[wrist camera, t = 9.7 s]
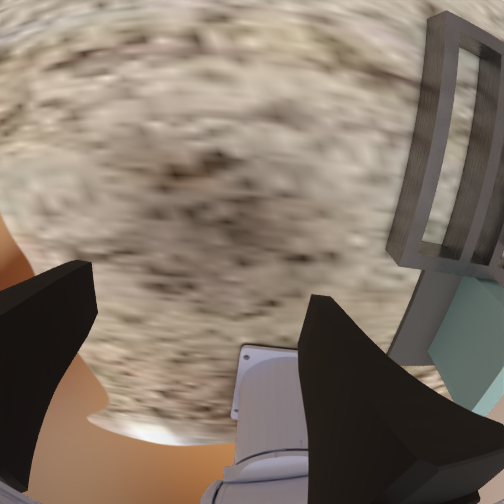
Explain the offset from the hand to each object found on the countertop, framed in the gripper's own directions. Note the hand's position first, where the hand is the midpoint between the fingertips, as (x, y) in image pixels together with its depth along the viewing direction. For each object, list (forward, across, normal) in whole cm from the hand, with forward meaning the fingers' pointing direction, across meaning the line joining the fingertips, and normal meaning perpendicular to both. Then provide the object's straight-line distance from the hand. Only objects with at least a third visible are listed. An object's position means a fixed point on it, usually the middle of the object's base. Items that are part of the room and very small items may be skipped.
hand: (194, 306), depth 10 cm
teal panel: (+10, -19, +6) cm, 22 cm away
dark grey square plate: (+10, -19, +6) cm, 23 cm away
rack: (+10, -17, -7) cm, 21 cm away
